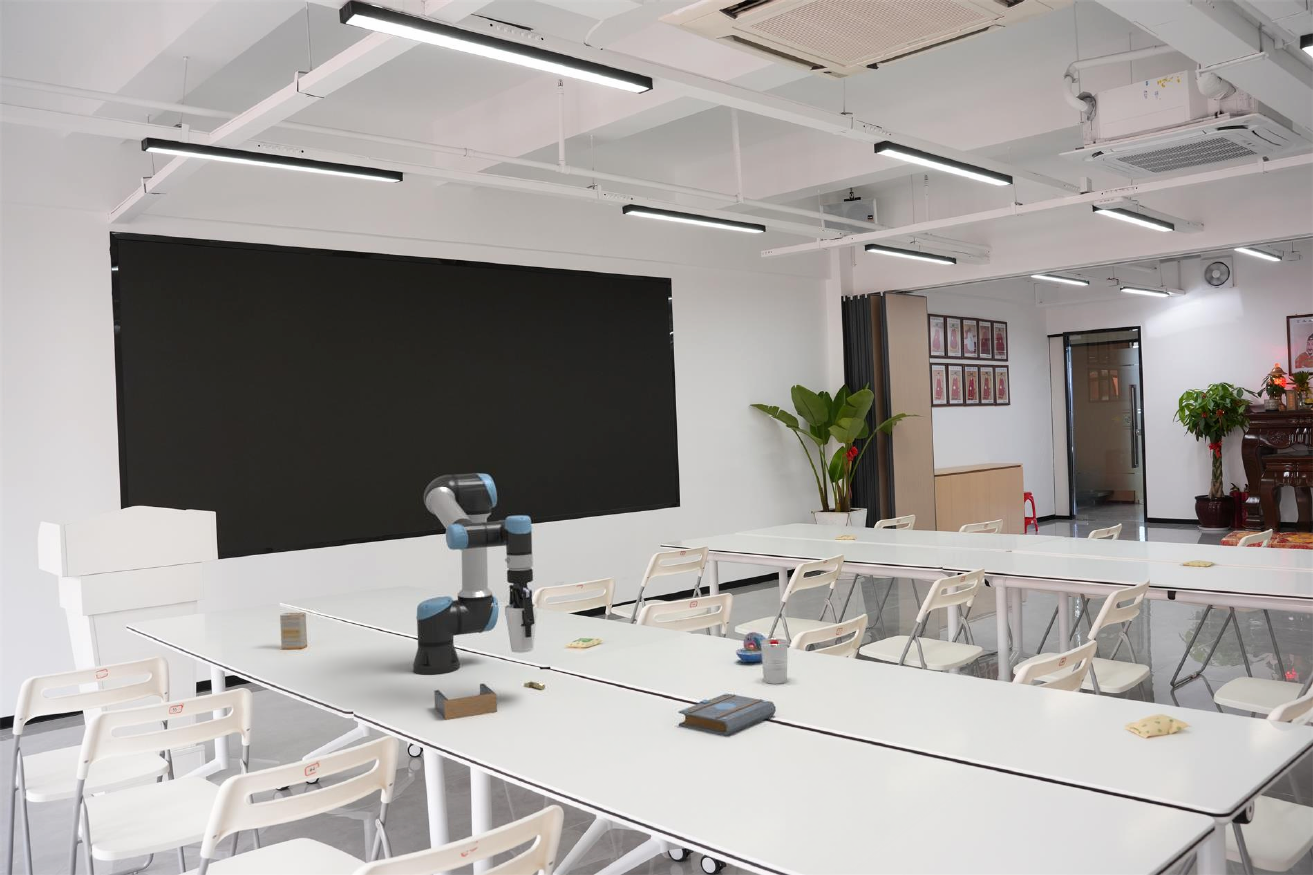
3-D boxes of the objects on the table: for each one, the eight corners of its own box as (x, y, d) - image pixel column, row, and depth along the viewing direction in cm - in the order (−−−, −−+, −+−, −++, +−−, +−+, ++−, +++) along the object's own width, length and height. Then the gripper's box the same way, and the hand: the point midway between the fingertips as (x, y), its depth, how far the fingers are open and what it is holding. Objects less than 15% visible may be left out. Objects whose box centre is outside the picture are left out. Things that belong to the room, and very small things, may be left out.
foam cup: (512, 655, 279) (510, 610, 279) (501, 649, 287) (500, 605, 287) (543, 650, 283) (541, 606, 283) (532, 645, 291) (530, 602, 291)
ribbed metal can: (795, 678, 296) (794, 639, 296) (787, 685, 288) (785, 645, 288) (764, 676, 300) (762, 637, 300) (755, 683, 292) (753, 643, 292)
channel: (434, 708, 276) (434, 690, 276) (484, 700, 282) (483, 683, 282) (445, 719, 264) (445, 701, 264) (497, 711, 270) (496, 693, 270)
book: (729, 738, 241) (728, 718, 241) (677, 727, 252) (677, 707, 252) (775, 717, 257) (775, 699, 257) (725, 708, 268) (725, 690, 268)
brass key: (524, 686, 297) (524, 681, 297) (530, 685, 299) (530, 679, 299) (539, 690, 292) (539, 685, 292) (546, 689, 294) (546, 683, 294)
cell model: (729, 663, 319) (728, 634, 319) (752, 656, 327) (751, 628, 327) (752, 667, 312) (751, 637, 312) (775, 660, 320) (774, 631, 320)
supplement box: (307, 646, 368) (306, 612, 368) (301, 649, 363) (300, 614, 363) (286, 646, 368) (285, 612, 368) (280, 649, 364) (279, 614, 364)
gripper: (496, 565, 293) (498, 639, 293) (519, 574, 273) (521, 653, 274) (520, 563, 296) (522, 636, 297) (544, 571, 277) (546, 650, 277)
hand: (522, 644), depth 285 cm, fingers closed on foam cup, 9 cm apart
